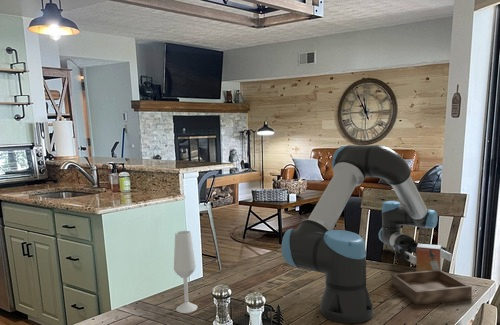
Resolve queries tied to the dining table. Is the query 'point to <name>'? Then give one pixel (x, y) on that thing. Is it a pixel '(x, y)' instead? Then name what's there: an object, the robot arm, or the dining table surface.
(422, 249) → the small box
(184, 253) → the champagne flute
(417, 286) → the wooden tray
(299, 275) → the dining table surface
